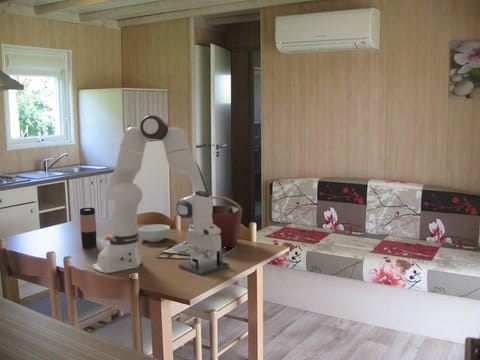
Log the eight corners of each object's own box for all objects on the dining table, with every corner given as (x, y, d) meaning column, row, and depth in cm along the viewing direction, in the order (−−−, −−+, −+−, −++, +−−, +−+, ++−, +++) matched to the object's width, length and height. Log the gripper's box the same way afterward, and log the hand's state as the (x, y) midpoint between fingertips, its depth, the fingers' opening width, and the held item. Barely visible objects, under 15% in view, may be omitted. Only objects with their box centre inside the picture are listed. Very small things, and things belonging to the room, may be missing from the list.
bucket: (188, 245, 279) (187, 198, 275) (214, 236, 297) (213, 191, 294) (227, 253, 266) (226, 203, 262) (251, 242, 284) (251, 196, 280)
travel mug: (78, 247, 278) (76, 209, 275) (89, 244, 285) (87, 207, 282) (89, 249, 275) (87, 211, 272) (100, 245, 281) (98, 208, 278)
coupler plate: (201, 275, 233) (201, 258, 232) (179, 267, 244) (178, 251, 243) (228, 267, 244) (228, 251, 243) (205, 259, 255) (205, 244, 254)
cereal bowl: (173, 236, 299) (172, 224, 297) (166, 244, 282) (165, 231, 281) (143, 236, 300) (142, 223, 299) (134, 244, 284) (134, 231, 283)
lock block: (200, 268, 238) (199, 254, 237) (190, 265, 243) (190, 251, 242) (216, 263, 245) (216, 249, 244) (207, 260, 250) (207, 247, 249)
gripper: (182, 225, 246) (183, 254, 249) (212, 232, 232) (213, 263, 234) (193, 222, 251) (194, 251, 253) (223, 230, 236) (223, 260, 238)
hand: (203, 257), depth 243 cm, fingers open, 8 cm apart
